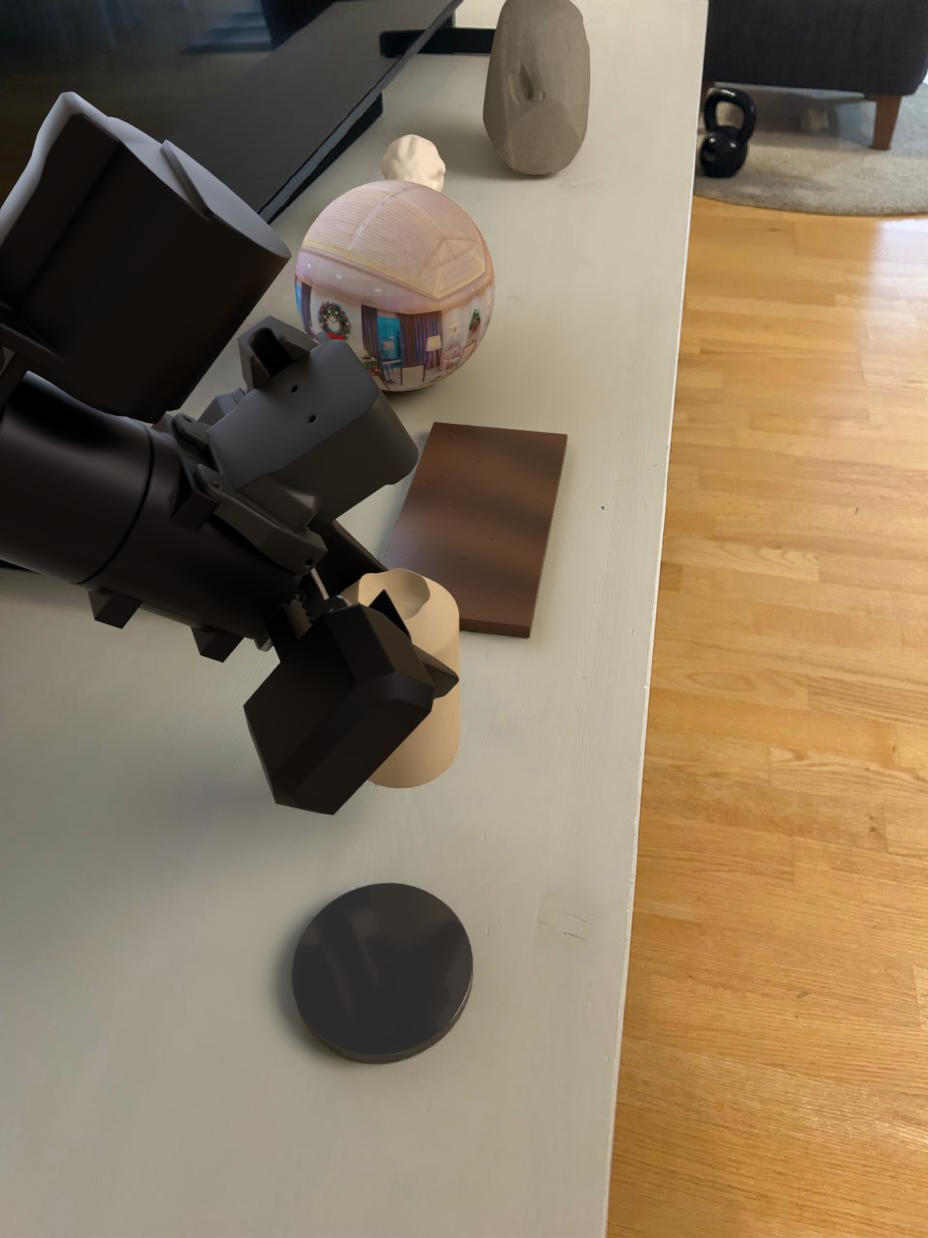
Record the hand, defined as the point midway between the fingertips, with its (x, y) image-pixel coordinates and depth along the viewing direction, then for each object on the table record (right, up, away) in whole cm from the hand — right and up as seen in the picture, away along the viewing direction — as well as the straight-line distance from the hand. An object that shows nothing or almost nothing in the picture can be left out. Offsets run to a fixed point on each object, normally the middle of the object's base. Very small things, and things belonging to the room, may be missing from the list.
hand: (425, 640), depth 43 cm
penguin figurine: (-4, +38, +54) cm, 66 cm away
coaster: (-2, -15, +1) cm, 15 cm away
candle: (-1, -5, +4) cm, 7 cm away
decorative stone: (+10, +54, +70) cm, 89 cm away
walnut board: (+3, +7, +23) cm, 24 cm away
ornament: (-3, +20, +36) cm, 42 cm away
